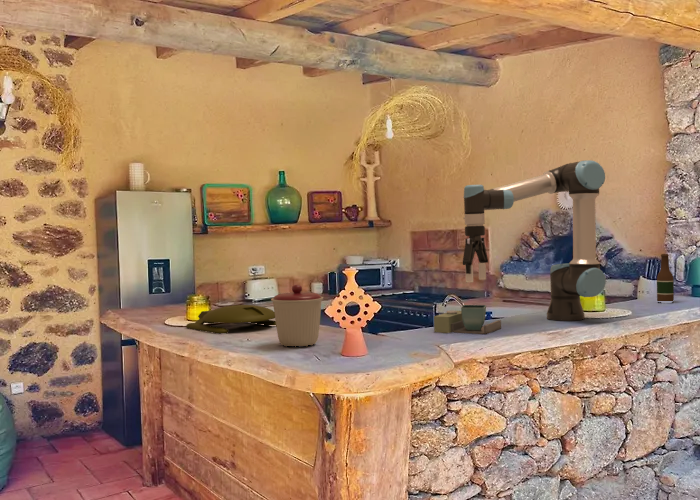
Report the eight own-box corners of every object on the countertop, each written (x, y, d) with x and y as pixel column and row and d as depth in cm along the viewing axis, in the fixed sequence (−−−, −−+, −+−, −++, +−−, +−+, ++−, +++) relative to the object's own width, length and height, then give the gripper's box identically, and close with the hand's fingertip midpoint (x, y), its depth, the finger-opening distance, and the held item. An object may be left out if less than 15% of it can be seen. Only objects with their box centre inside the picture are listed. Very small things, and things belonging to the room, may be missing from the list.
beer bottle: (671, 301, 346) (670, 253, 345) (676, 303, 338) (675, 254, 338) (654, 302, 347) (654, 253, 347) (659, 303, 340) (658, 254, 339)
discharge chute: (501, 328, 271) (501, 320, 270) (486, 334, 257) (486, 325, 257) (467, 326, 278) (467, 318, 278) (451, 332, 264) (450, 323, 264)
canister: (293, 339, 256) (292, 282, 256) (334, 343, 246) (333, 283, 246) (261, 347, 241) (259, 286, 240) (303, 351, 231) (301, 287, 230)
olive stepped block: (469, 326, 280) (468, 308, 279) (448, 333, 263) (448, 314, 262) (455, 325, 283) (454, 308, 283) (434, 332, 266) (433, 313, 265)
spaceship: (183, 329, 295) (183, 305, 295) (245, 321, 316) (244, 299, 316) (228, 337, 269) (227, 311, 269) (292, 328, 290) (291, 304, 290)
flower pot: (485, 331, 260) (484, 307, 260) (461, 331, 262) (460, 307, 262) (486, 328, 268) (486, 304, 268) (463, 327, 271) (463, 304, 270)
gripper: (477, 225, 280) (478, 278, 280) (452, 226, 258) (454, 283, 259) (495, 224, 276) (496, 278, 276) (471, 225, 254) (473, 283, 255)
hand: (476, 281), depth 268 cm, fingers open, 13 cm apart
